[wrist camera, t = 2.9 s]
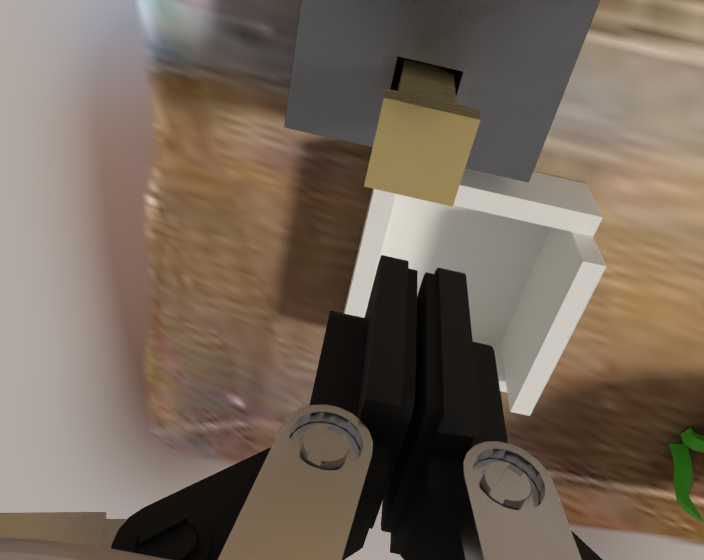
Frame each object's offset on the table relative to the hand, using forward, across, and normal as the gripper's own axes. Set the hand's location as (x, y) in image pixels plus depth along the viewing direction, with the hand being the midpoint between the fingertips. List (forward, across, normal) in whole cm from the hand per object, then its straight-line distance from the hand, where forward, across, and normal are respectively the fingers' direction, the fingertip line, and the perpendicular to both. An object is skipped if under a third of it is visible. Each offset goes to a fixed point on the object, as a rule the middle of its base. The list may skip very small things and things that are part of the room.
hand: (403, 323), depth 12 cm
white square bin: (+19, -4, +9) cm, 21 cm away
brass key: (+16, 0, 0) cm, 16 cm away
